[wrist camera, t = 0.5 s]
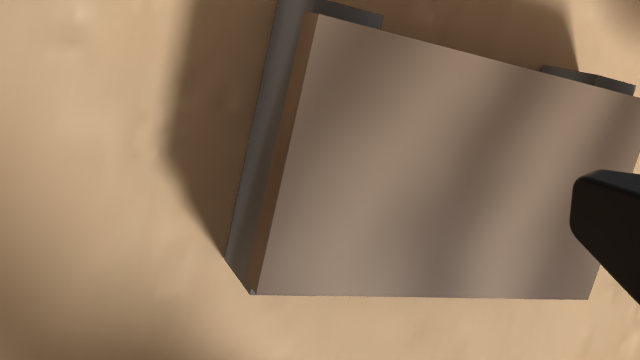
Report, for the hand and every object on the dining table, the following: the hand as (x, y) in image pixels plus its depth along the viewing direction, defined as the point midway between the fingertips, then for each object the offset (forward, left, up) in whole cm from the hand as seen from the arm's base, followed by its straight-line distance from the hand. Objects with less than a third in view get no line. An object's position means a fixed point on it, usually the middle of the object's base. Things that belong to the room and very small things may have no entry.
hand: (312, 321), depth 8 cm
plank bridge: (-8, -9, -14) cm, 19 cm away
